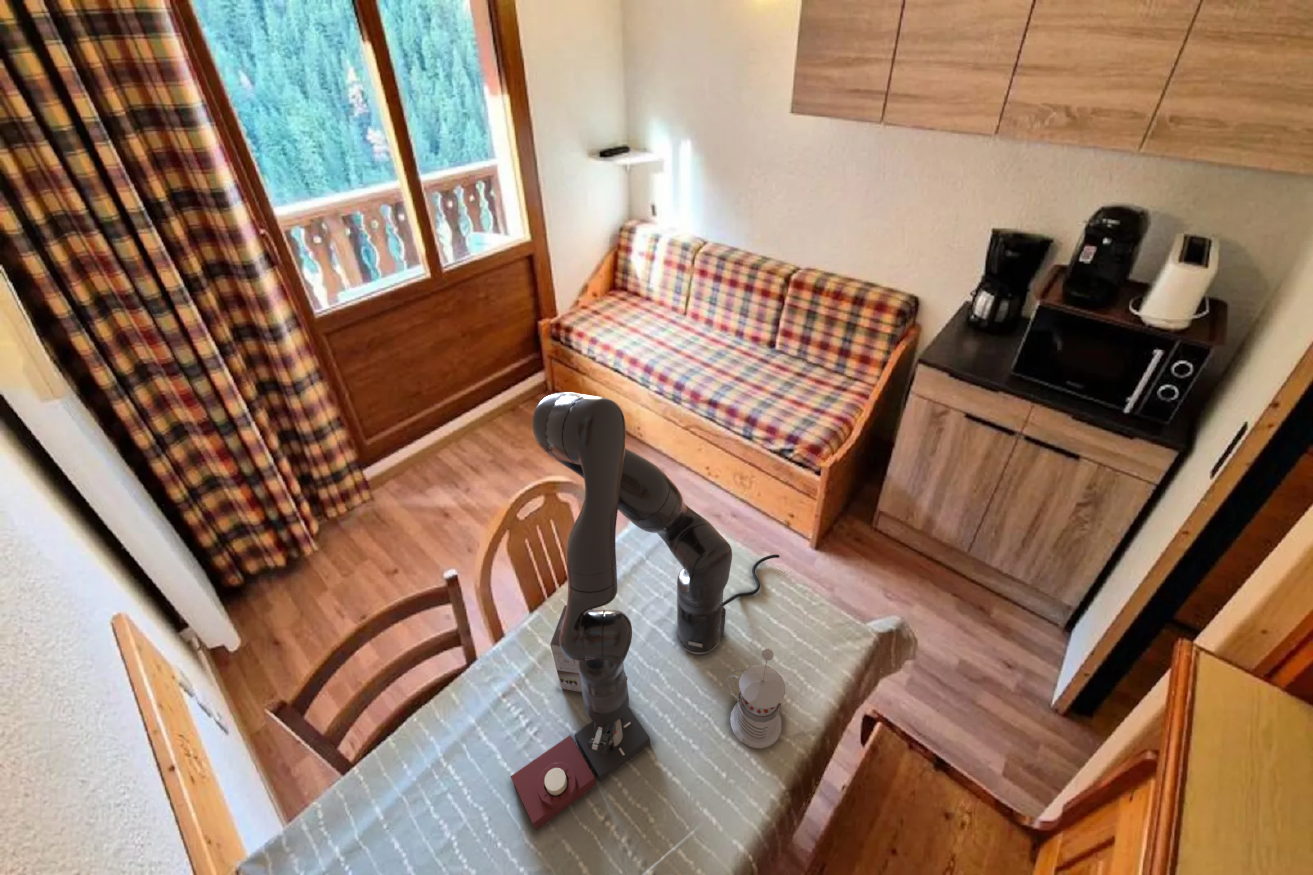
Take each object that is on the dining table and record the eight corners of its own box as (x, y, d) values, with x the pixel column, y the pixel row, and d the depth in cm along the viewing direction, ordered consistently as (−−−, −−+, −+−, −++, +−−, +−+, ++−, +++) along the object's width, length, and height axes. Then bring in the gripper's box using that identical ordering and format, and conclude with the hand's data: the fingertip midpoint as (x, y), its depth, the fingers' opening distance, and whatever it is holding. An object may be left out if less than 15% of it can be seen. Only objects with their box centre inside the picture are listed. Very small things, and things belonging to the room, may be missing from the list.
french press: (762, 760, 104) (776, 693, 89) (712, 717, 111) (717, 647, 95) (791, 719, 110) (810, 649, 94) (742, 680, 116) (751, 608, 100)
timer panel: (624, 705, 113) (623, 699, 111) (650, 744, 107) (650, 738, 105) (575, 739, 108) (573, 733, 106) (600, 782, 102) (598, 776, 101)
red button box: (572, 742, 108) (569, 730, 105) (599, 788, 102) (596, 777, 98) (513, 783, 103) (508, 772, 99) (537, 834, 96) (533, 824, 93)
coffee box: (590, 694, 115) (581, 651, 105) (560, 688, 116) (548, 645, 106) (603, 653, 122) (595, 608, 111) (574, 648, 123) (564, 603, 113)
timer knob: (597, 733, 106) (594, 721, 103) (615, 720, 108) (613, 708, 105) (608, 752, 104) (606, 740, 101) (626, 738, 106) (625, 726, 103)
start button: (561, 768, 100) (559, 763, 99) (571, 786, 98) (569, 781, 96) (542, 781, 99) (540, 776, 97) (552, 800, 96) (550, 795, 95)
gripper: (599, 645, 101) (606, 692, 112) (566, 725, 90) (578, 769, 101) (639, 656, 99) (643, 703, 110) (611, 739, 89) (618, 781, 99)
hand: (612, 734), depth 105 cm, fingers closed on timer knob, 4 cm apart
